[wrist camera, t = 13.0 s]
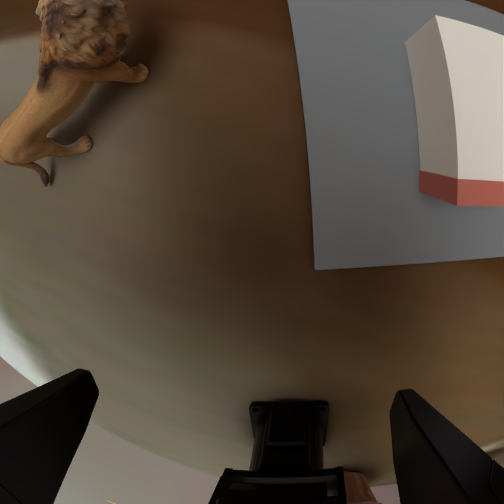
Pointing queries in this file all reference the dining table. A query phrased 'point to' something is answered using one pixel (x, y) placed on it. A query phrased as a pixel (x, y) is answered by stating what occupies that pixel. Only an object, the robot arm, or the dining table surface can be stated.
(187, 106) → the dining table surface
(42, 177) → the lion figurine
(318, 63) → the mat
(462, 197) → the beige rectangular block
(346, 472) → the cupcake
